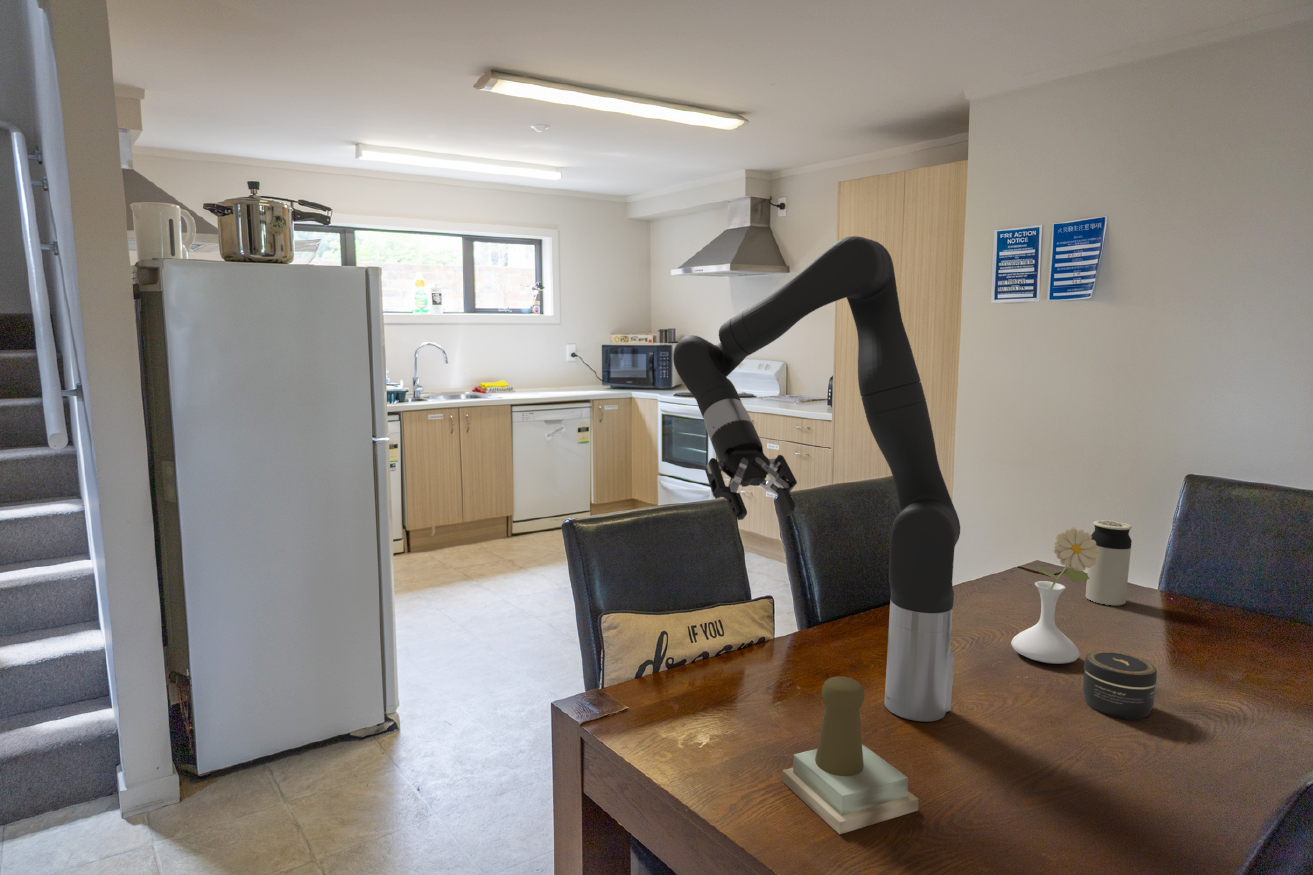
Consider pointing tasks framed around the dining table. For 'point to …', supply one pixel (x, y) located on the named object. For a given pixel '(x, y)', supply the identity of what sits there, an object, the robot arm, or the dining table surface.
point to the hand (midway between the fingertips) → (767, 515)
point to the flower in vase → (1045, 636)
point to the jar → (1119, 684)
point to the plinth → (852, 817)
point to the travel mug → (1110, 563)
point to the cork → (841, 728)
